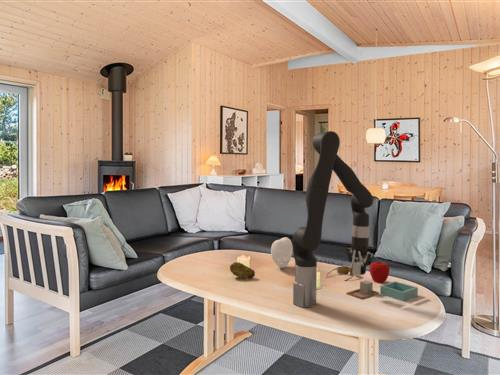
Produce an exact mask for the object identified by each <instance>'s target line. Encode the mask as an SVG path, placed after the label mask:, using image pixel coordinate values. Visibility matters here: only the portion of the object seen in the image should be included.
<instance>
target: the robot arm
mask: <svg viewBox="0 0 500 375" xmlns="http://www.w3.org/2000/svg"><path fill="white" fill-rule="evenodd" d="M340 141H341V140H340V136H339V134H338V133H336V132H335V131H332V130H331V131H329V130H328V131H323V132H318V133H317V134H315V135H314V136H313V138H312V147H313V149H314V150H315V152H316V153H317V154H318V155H319V157H318V161H317V164H316V165H315V167H314V170H313V171H312V173H311V175H310V177H309V178H308V182H307V186H306V191H305V196H304V198H305V204H306V210H307V219H306V224H305V226H299V227H298V228H296V229H295V230H294V233H293V236H292V237H293V238H292V246H293V252H292V256H293V259H294V261H295V262H294V264H295V266H294V282H292V283H293V285H292V286H293V287H292V288H293V289H292V296H293V297H292V298H293V299H292V304H293V305H295V306H298V307H300V308H313V307H315V306H316V305H317V282H318V281H317V277H318V276H317V273H318V272H317V271H318V270H317V268H318V265H317V264H318V260H317V259H318V258H316V256H315V255H314V253H313V251H316V250H317V248H319V246H320V243H321V240H322V234H323V222H324V221H323V220H324V216H325V210H326V204H327V199H328V195H329V189H330V184H331V179H332V175H333V172H334V174H335V175H336V177H337V178H338V179H339V181H340V182H341V184H342V186H343V187H344V189H345V190H346V191H347V192H348V193H350V194H352V195H351V198H350V206H351V212H352V228H351V247H349V248H346V249H345V250H346V254H347V259H348V262H350V263H351V264H352V265H351V267H352V269H353V262H358V261H359V262H361V265H362V266H361V274H364V275H366V273H367V266H370V265H371V264H372V260H373V258H374V255H375V254H374V253H371V252H370V251H369V244H370V215H369V214H368V213H367V212H366V209H367V208H370V207H371V206H372V205H373V203H374V198H373V195H372V192H370V190H369V189H368V188H367V187H366V186H365V185H364V184H363V183H362V182H361V181H360V179H359V177H358V176H357V174H356V173H355V171H354V170H353V168H351V167H350V166H349V165H348V164H347V163H346V162H345V161H344V160H343V159H342V158H341V157H340V156H339V155H338V152H339V149H340V144H341V142H340Z"/></svg>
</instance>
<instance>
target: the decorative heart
mask: <svg viewBox="0 0 500 375" xmlns="http://www.w3.org/2000/svg"><path fill="white" fill-rule="evenodd" d="M270 254H271V259H272V261H273V262H274V263H275V265H276V266H277V270H278V271H279V270H280V269H283V268H285V267H287V266H288V264H289V263H290V261H291V258H292V256H293V241H291V239H290V238H289V237H286V236H285V237H282V238H280V239H276V240H274V242H272V244H271V248H270Z"/></svg>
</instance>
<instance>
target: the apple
mask: <svg viewBox="0 0 500 375" xmlns="http://www.w3.org/2000/svg"><path fill="white" fill-rule="evenodd" d="M369 274H370V276H371V279H372V280H373V281H374V282H375V283H381V284H382V283H384V282H386V281H387V280H388V277H389V274H390V266H389V265H388V264H387V263H385V262H381V261H374V262H371V264H370V265H369Z"/></svg>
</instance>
